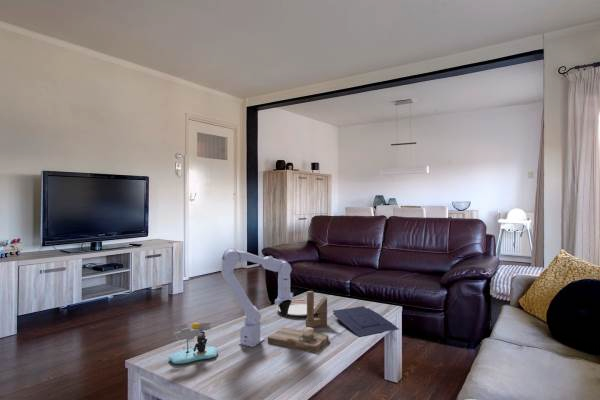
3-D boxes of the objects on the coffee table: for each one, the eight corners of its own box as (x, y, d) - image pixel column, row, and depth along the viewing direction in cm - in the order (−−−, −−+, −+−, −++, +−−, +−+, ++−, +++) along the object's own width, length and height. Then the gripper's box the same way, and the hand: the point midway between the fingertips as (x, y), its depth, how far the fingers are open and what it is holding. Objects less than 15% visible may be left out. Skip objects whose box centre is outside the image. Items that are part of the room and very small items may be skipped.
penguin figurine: (216, 349, 164) (216, 314, 163) (221, 359, 154) (221, 322, 154) (168, 357, 156) (167, 320, 156) (169, 367, 146) (169, 329, 146)
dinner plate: (305, 322, 198) (305, 316, 198) (266, 312, 214) (266, 307, 214) (333, 310, 219) (333, 304, 219) (296, 302, 236) (296, 296, 236)
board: (316, 352, 160) (316, 346, 160) (267, 342, 171) (267, 337, 171) (328, 340, 173) (328, 335, 173) (282, 332, 183) (282, 327, 183)
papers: (366, 310, 215) (366, 304, 214) (399, 334, 188) (400, 327, 187) (328, 315, 205) (328, 309, 204) (358, 342, 178) (358, 334, 177)
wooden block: (327, 325, 193) (327, 290, 193) (308, 328, 189) (308, 292, 189) (324, 323, 197) (324, 289, 196) (305, 326, 192) (305, 291, 192)
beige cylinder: (311, 346, 166) (311, 332, 166) (300, 344, 168) (300, 330, 168) (315, 342, 171) (315, 328, 171) (305, 340, 173) (305, 326, 173)
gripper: (284, 291, 168) (284, 322, 168) (298, 284, 181) (299, 312, 181) (270, 290, 171) (271, 319, 171) (285, 283, 184) (286, 310, 184)
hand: (284, 316), depth 176 cm, fingers closed
